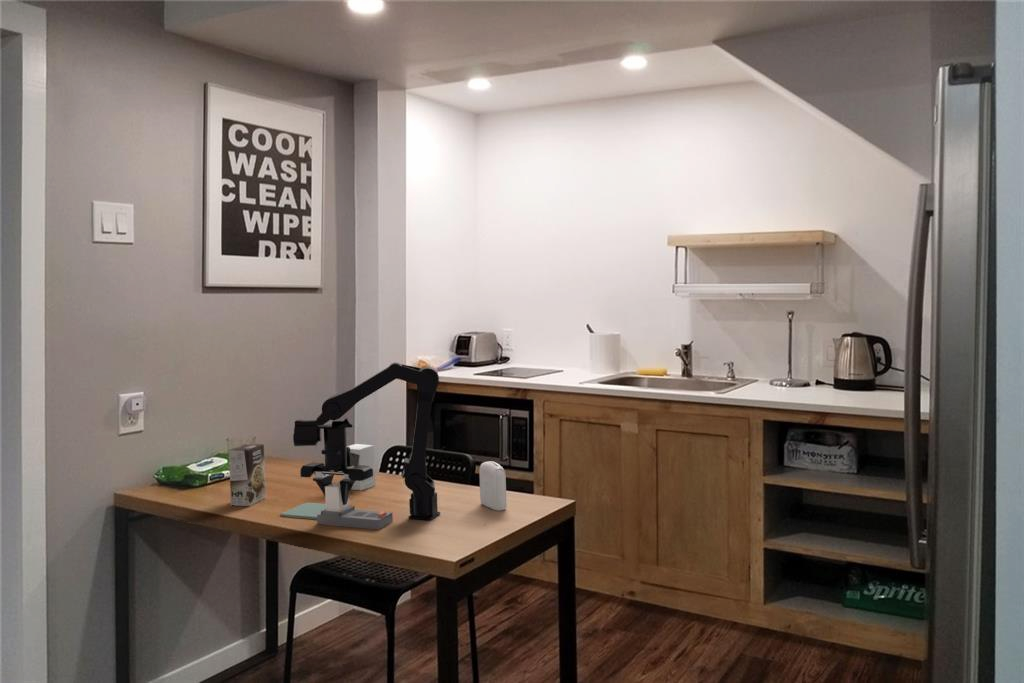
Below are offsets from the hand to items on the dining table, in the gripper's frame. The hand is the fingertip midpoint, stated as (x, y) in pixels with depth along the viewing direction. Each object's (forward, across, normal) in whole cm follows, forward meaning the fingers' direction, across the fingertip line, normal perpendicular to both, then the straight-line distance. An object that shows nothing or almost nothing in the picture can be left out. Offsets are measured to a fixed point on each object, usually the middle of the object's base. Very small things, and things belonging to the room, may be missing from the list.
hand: (337, 504), depth 209 cm
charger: (+2, 0, 0) cm, 2 cm away
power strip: (+5, -5, 0) cm, 7 cm away
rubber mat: (+5, +12, -6) cm, 14 cm away
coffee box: (+5, +36, -10) cm, 38 cm away
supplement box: (+5, +14, -34) cm, 37 cm away
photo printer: (+5, -34, -24) cm, 42 cm away
